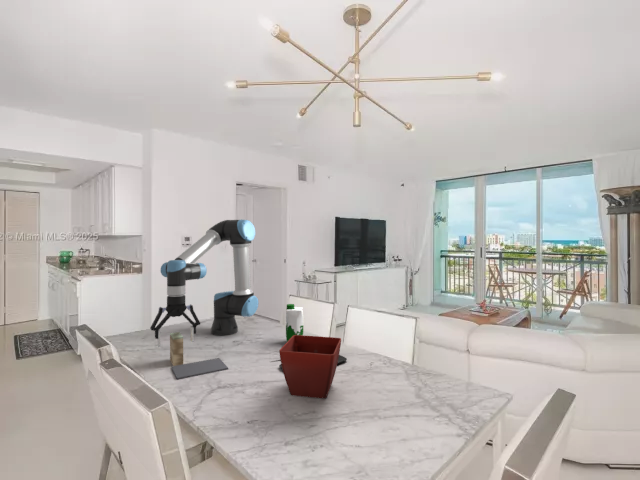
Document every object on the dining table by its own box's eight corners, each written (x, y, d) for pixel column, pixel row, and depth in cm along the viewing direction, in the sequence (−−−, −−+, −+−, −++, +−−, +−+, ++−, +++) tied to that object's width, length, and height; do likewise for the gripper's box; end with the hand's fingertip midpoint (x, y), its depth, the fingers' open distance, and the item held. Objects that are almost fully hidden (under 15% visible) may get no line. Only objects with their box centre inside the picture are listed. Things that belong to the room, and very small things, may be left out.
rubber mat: (219, 359, 157) (219, 357, 157) (228, 369, 145) (228, 367, 145) (171, 367, 146) (171, 366, 146) (177, 379, 134) (177, 378, 134)
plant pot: (333, 405, 114) (333, 354, 114) (278, 399, 118) (278, 350, 118) (341, 381, 133) (341, 337, 133) (293, 377, 137) (293, 334, 137)
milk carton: (286, 340, 185) (286, 303, 185) (303, 340, 185) (303, 303, 184) (284, 345, 176) (284, 306, 176) (302, 345, 176) (302, 306, 176)
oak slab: (179, 358, 158) (179, 332, 158) (183, 364, 150) (183, 337, 150) (170, 359, 156) (169, 333, 156) (173, 366, 148) (173, 338, 148)
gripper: (203, 292, 162) (203, 337, 162) (143, 296, 149) (143, 345, 149) (207, 294, 156) (206, 341, 156) (145, 298, 143) (145, 350, 143)
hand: (175, 343), depth 153 cm, fingers open, 13 cm apart
